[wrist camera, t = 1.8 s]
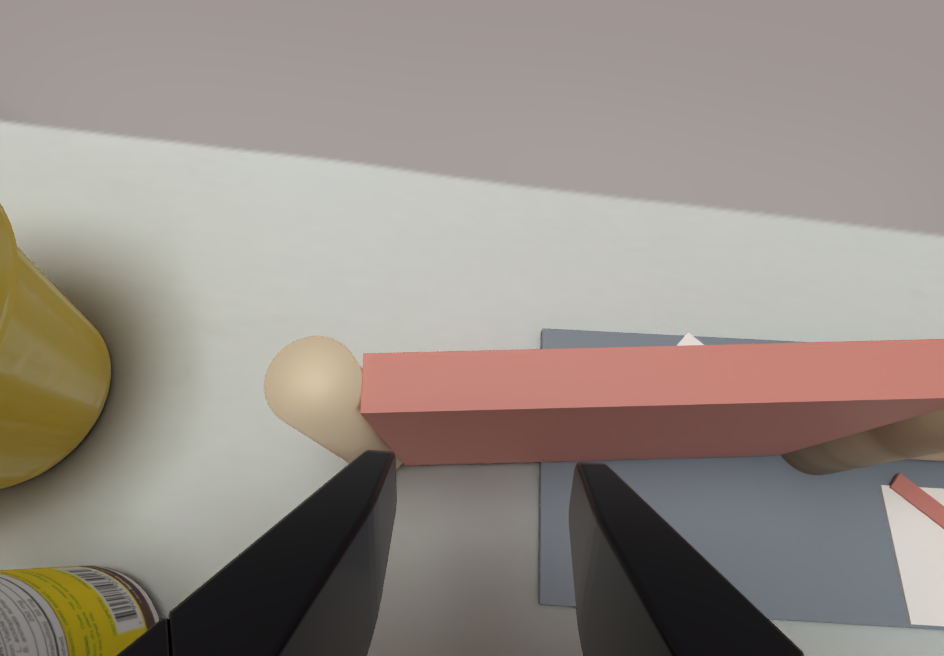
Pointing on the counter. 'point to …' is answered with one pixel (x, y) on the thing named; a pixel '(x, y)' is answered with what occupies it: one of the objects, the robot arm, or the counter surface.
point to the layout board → (775, 522)
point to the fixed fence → (875, 446)
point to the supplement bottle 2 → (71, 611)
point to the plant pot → (43, 368)
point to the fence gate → (600, 399)
